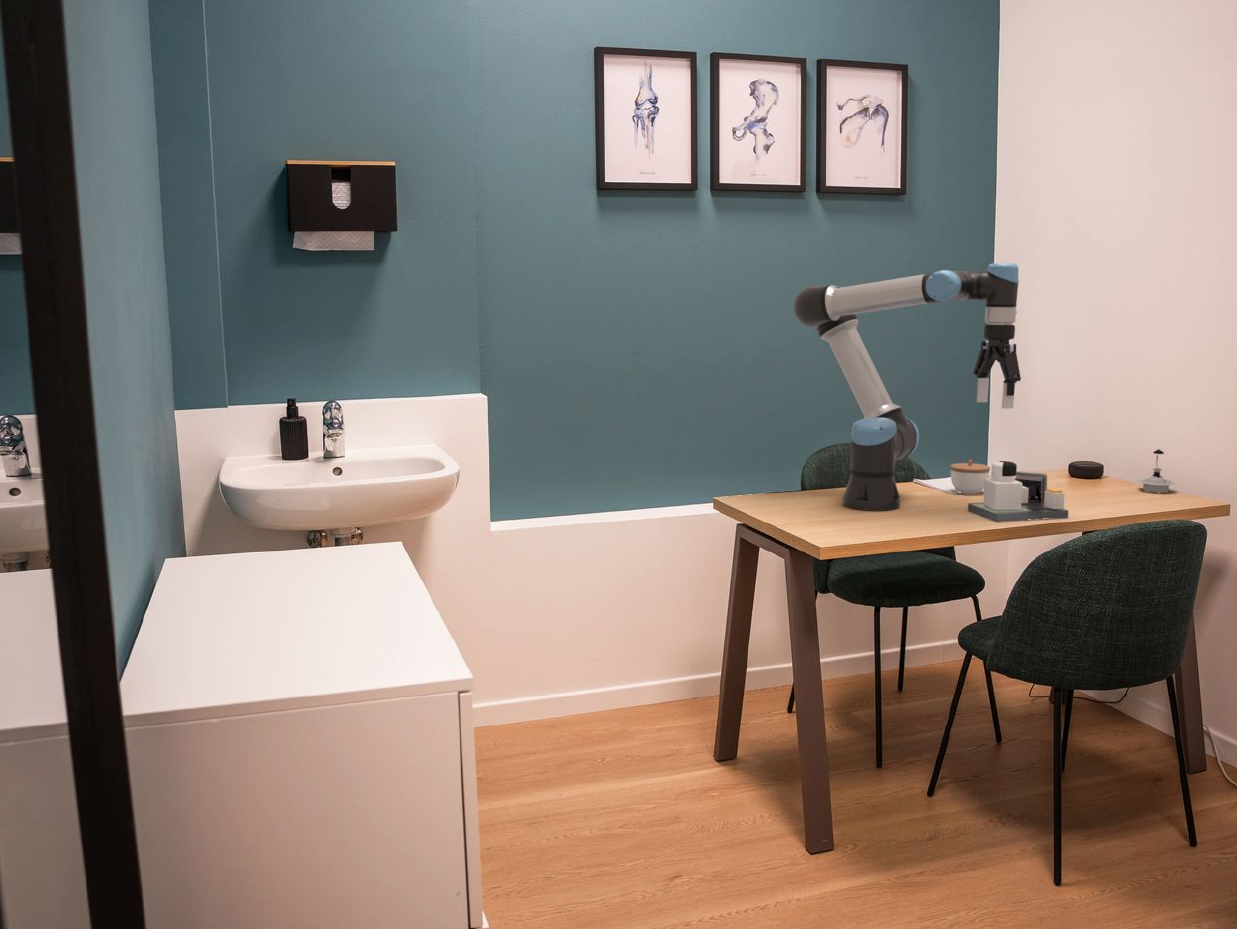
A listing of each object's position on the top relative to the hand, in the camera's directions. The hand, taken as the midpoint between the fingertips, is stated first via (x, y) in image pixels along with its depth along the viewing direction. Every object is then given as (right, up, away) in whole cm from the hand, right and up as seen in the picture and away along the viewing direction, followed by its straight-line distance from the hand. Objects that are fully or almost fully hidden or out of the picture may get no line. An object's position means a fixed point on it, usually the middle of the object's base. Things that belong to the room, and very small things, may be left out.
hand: (994, 405), depth 273 cm
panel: (+5, -29, -2) cm, 29 cm away
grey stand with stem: (+56, -23, +27) cm, 67 cm away
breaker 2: (+13, -27, -5) cm, 30 cm away
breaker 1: (+7, -25, +2) cm, 27 cm away
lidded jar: (+3, -24, +27) cm, 36 cm away
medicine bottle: (+1, -27, -4) cm, 27 cm away
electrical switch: (+13, -27, +10) cm, 31 cm away
